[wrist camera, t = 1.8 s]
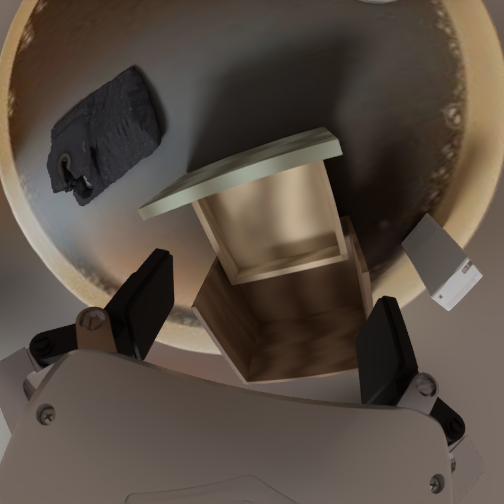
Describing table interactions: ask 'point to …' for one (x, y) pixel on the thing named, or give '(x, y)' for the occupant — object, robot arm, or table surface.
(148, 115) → the black tote bag
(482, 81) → the table surface
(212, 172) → the pull-out wooden drawer
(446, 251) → the skincare box
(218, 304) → the walnut box
